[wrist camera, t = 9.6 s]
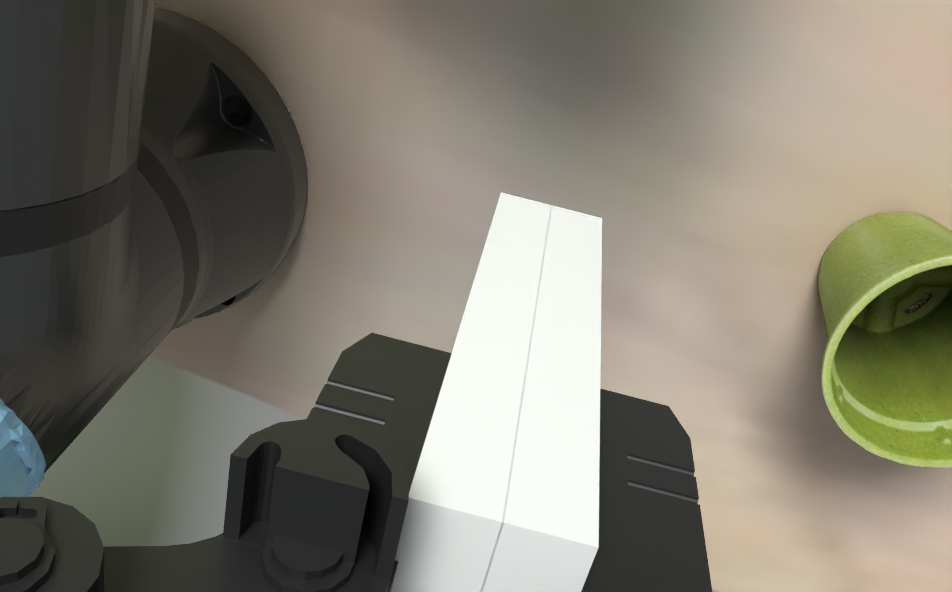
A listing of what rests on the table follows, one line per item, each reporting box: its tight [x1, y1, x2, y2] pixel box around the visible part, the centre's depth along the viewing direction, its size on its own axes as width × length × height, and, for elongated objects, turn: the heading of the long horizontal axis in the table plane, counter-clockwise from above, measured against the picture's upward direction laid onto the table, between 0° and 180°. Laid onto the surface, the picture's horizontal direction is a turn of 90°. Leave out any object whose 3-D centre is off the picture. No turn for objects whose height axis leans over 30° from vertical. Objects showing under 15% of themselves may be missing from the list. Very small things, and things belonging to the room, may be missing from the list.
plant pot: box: [818, 213, 952, 468], centre depth 36 cm, size 9×9×9 cm
